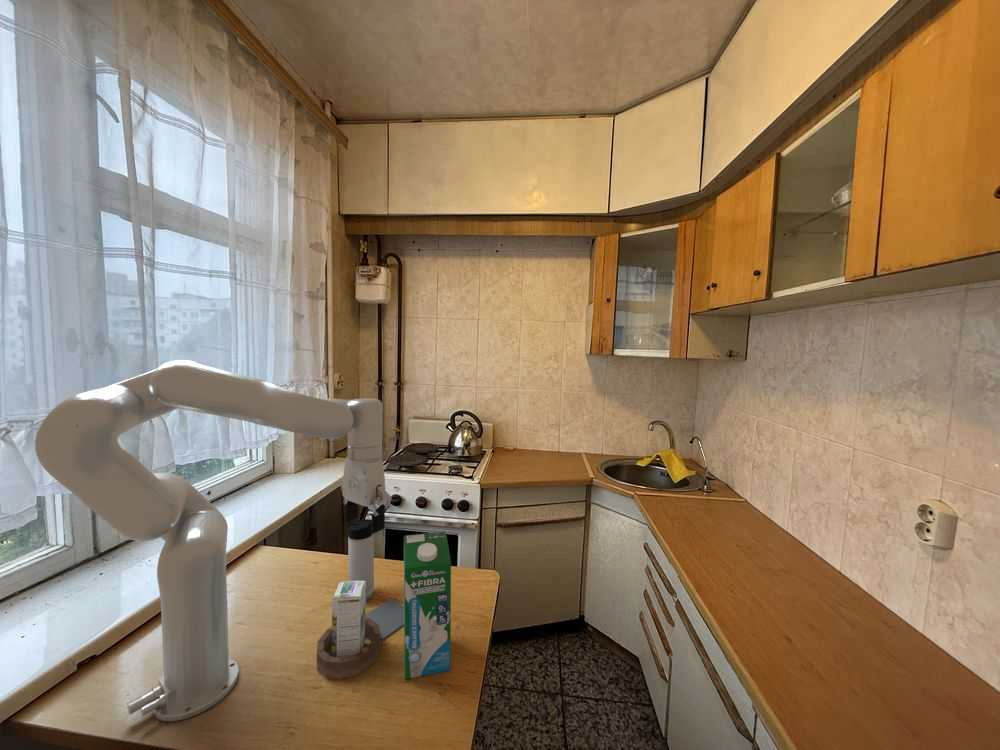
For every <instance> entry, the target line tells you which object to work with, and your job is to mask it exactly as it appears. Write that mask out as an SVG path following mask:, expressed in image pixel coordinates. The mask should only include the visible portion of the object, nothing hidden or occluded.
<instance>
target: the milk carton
mask: <svg viewBox="0 0 1000 750" xmlns="http://www.w3.org/2000/svg"><path fill="white" fill-rule="evenodd" d="M450 555H451V554H450V549H449V543H448V537H447V531H445V530H444V531H435V532H429V533H421V534H417V533H416V534H411V535H410V534H409V535H403V606H404V626H403V656H404V657H403V661H404V662H403V663H404V680H409V679H414V678H418V677H422V676H423V677H424V676H427V675H432V674H437V673H441V672H446V671H450V670H451V641H452V638H451V637H452V636H451V635H452V634H451V633H452V632H451V631H452V629H451V625H452V623H451V620H452V619H451V616H452V615H451V612H452V611H451V610H452V609H451V608H452V606H451V605H452V604H451V603H452V602H451V601H452V591H451V590H452V560H451V556H450Z"/></svg>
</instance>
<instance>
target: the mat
mask: <svg viewBox="0 0 1000 750" xmlns="http://www.w3.org/2000/svg"><path fill="white" fill-rule="evenodd" d="M365 618H369V619H371V620H373V621H374V622H376V623H377V624H378V625H379V628H380V634H381V642H383V641H384V640H386V639H387V638H388V637H390V636H391V635H393V634H394V633H396V632H397V631H398V630H400V629H401V628H402V627H404V605H402V604H400V602H397V601H396V600H395V599H393V598H389V599H387V600H386V601H384V602H382V603H381V604H380V605H378V606H377V607H375V608H373V609H372V610H370V611H369V612H367V613H365Z"/></svg>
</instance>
